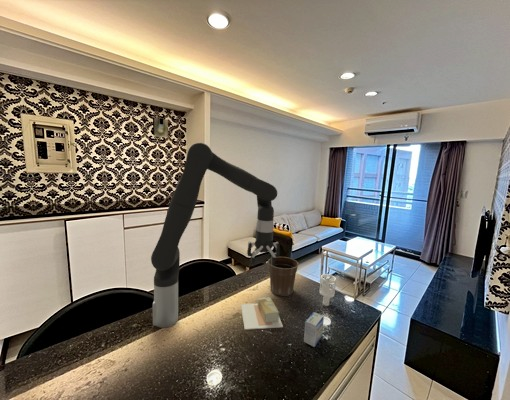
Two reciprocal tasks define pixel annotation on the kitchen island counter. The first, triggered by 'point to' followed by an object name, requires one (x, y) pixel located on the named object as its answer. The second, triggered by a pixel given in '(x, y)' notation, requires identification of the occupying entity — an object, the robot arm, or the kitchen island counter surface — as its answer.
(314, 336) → the medicine box
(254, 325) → the mat
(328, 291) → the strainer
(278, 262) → the plant pot
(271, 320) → the skincare box
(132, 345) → the kitchen island counter surface
